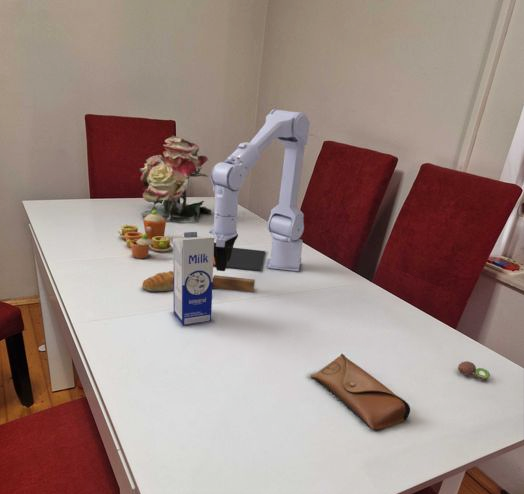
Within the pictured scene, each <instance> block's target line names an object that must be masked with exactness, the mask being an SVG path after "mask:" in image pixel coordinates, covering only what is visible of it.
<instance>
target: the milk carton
mask: <svg viewBox="0 0 524 494" xmlns="http://www.w3.org/2000/svg"><path fill="white" fill-rule="evenodd" d="M172 242H173V243H172V251H173V252H172V259H173V260H172V261H173V262H172V264H173V265H172V267H173V268H172V269H173V270H172V271H173V288H174V290H173V314H174V315H175V317H176V319H177V320H178V321H179V323H180V325H182V327H186V326H191V325H197V324H205V323H211V322H212V313H213V312H212V311H213V310H212V309H213V287H212V284H213V277H214V266H213V257H214V243H215V236H198V231H188V232H187V231H186V232H183V237H176V238H175V237H174V238H172Z"/></svg>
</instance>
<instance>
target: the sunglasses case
mask: <svg viewBox="0 0 524 494" xmlns="http://www.w3.org/2000/svg"><path fill="white" fill-rule="evenodd" d="M310 377H311V379H313V380H315V381H316V382H317V383H319V384H320V385H322V386H323V387H324V388H325V389H327V390H328V391H329V392H330V393H331V394H332V395H333V396H335V397H336V398H337V399H338V400H339V401H340V402H341V403H342V404H343V405H345V407H346V408H347V409H349V410H350V411H351V412H352V413H354V414H353V415H355V416H356V417H358V418H359V419H360V420H361V421H362V422H363V423H364V424H365V425H367V426H368V427H369V428H370V429H371V430H375V431H378V430H379V431H380V430H384V429H387V428H391V427H394V426H396V425H399V424H402V423H404V422H406V420H407V419H408V418H409V416H410V413H411V406H410V404H409V403H408V401H406V400H404V399H403V398H402V397H400V396H399V395H397V394H396V393H394V392H393V391H392V390H390V388H388V387H387V386H386V385H385V384H383V383H382V382H380V380H378V379H377V378H376V377H374V376H373V375H371V374H370V373H368V371H366V370H364V369H363V368H361V366H359V365H357V364H356V363H354V362H353V361H352V360H351V359H349V358H348V357H347V356H346V355H345V354H344V353H341V354H340V355H339V356H338V357H336V358H335V359H333V360H332V361H331V362H330V363H328V364H327V365H325V366H324V367H323V368H322V369H320V370H319V371H318V372H316V373H313V374H310Z"/></svg>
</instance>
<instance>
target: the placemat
mask: <svg viewBox="0 0 524 494" xmlns="http://www.w3.org/2000/svg"><path fill="white" fill-rule="evenodd" d="M265 255H266V250H261V249H260V250H258V249H251V248H250V249H249V248H239V247H233V249H232V253H231V258H230V260H229V261H227V266H226V269H234V270H243V271H252V272H261V270H262V266H263V261H264V256H265ZM214 267H215V268H216V264H215V258H214V257H213V268H214Z"/></svg>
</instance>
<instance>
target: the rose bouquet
mask: <svg viewBox="0 0 524 494" xmlns="http://www.w3.org/2000/svg"><path fill="white" fill-rule="evenodd" d="M164 142H165V143H166V144H163V147H164V151H163V152H162V153H163V156H162V155H161V154H157V155H152V156H149V157H148V158H147V159H145V162H146V163H144V164H143V166H144V167H142V168H141V167H140V168H138V170H139V171H140V173H141V174H142V175H141V176H140V181H141V183H142V185H143V187H144V188H143V189H142V191H144V192H143V193H142V198H143V199H144V201H146V202H148V203H153V205H152V207H151V209H152V210H148V211H144V212H141V213H140V214H141V216H142V218H143V219H144V218H145V217H146V216H147V215H149V214H152V211H153V210H155V211H156V212H157V213H156V214H159V215H161V216H162V217H163V218H165V219H166V222H172V223H173V222H174V223H179V224H183V223H196V222H198V220H199V218H200V217H201V216H200V213H206V214H207V213H209V214H210V215H211V214H213V213H212V212H213V211H212V209H211V208H207V207H206V206H203V203H204V202H205V200H202V201H199V202H194V203H190V204H187V187H188V184H189V182H190V177H191V178H196V177H204V178H205V177H206V178H208V177H209V175H207V174H205V173H202V172H201V170H202V168H203V166H204V164H206V163H207V162H208V161H209V158H208V156H207V155H198V153H199V151H200V147H199V144H196V143H194V142H191V141H188V140H185V138H183V137H181V136H175V135H172V136H170V137H168V138H166V139H165V140H164ZM181 199H182V203H181ZM157 204H160V205H158V206H156V205H157Z"/></svg>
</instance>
